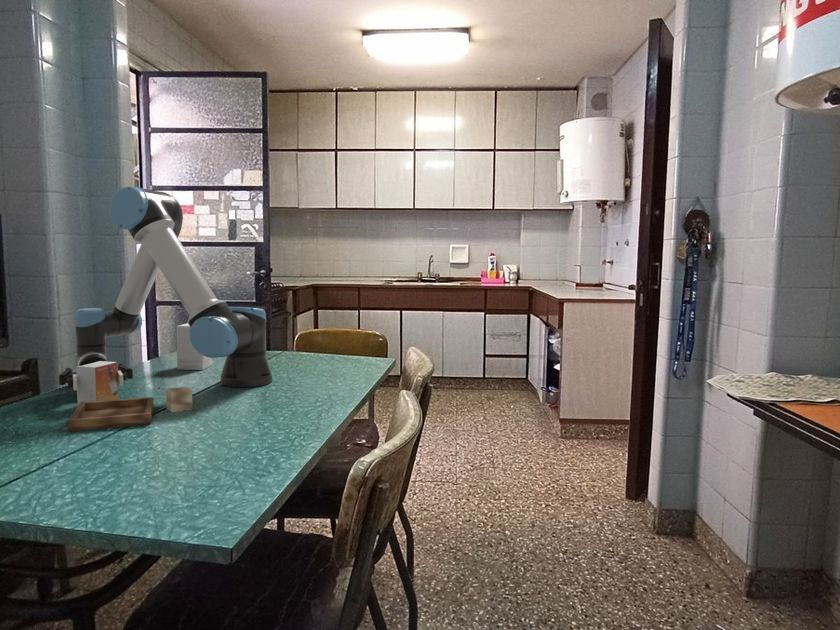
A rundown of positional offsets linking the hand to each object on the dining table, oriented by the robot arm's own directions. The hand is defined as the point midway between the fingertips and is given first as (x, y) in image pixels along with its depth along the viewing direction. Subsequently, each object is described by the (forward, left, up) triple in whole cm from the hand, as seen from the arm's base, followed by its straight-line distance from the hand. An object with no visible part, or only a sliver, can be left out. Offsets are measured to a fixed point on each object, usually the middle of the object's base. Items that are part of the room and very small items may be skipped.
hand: (99, 382), depth 137 cm
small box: (+1, -4, -7) cm, 8 cm away
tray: (-4, +11, -7) cm, 13 cm away
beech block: (-18, +7, -7) cm, 20 cm away
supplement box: (-23, -46, -7) cm, 52 cm away
